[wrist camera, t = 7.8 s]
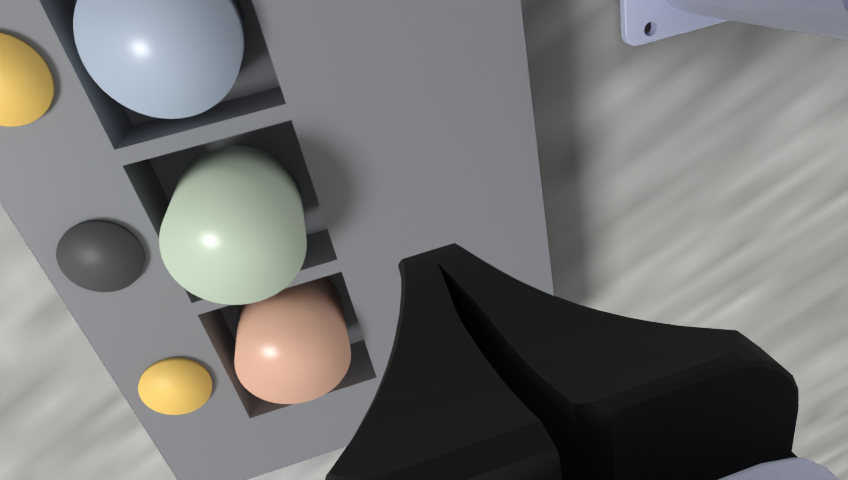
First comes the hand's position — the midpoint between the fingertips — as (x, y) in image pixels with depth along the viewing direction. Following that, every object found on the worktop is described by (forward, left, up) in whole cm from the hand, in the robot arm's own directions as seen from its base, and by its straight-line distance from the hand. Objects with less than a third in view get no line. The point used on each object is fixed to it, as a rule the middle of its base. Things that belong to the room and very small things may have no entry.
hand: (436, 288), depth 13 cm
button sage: (+5, 0, -8) cm, 9 cm away
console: (+3, 0, -10) cm, 11 cm away
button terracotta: (+5, +5, -9) cm, 12 cm away
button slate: (+5, -6, -9) cm, 12 cm away
